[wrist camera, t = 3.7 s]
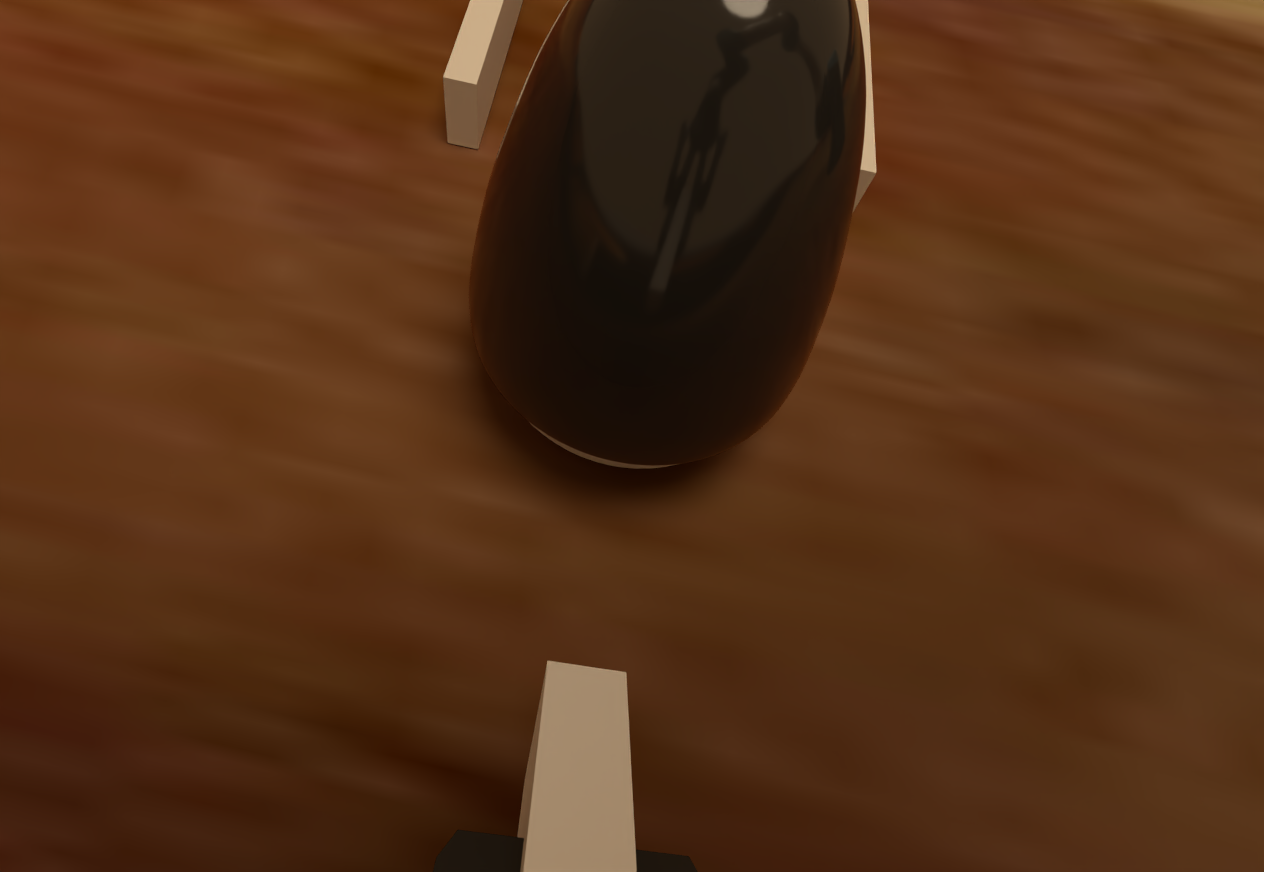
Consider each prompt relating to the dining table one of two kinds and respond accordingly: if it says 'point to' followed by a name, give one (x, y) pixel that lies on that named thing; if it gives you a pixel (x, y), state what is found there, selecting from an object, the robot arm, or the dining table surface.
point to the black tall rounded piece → (669, 221)
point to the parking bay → (485, 55)
